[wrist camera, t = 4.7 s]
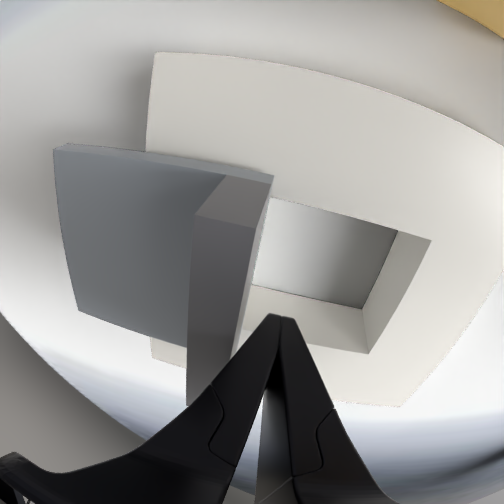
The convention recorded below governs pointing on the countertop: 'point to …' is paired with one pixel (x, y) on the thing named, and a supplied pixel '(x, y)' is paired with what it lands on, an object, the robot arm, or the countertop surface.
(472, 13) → the plug
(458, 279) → the socket block
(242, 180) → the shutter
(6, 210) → the countertop surface
